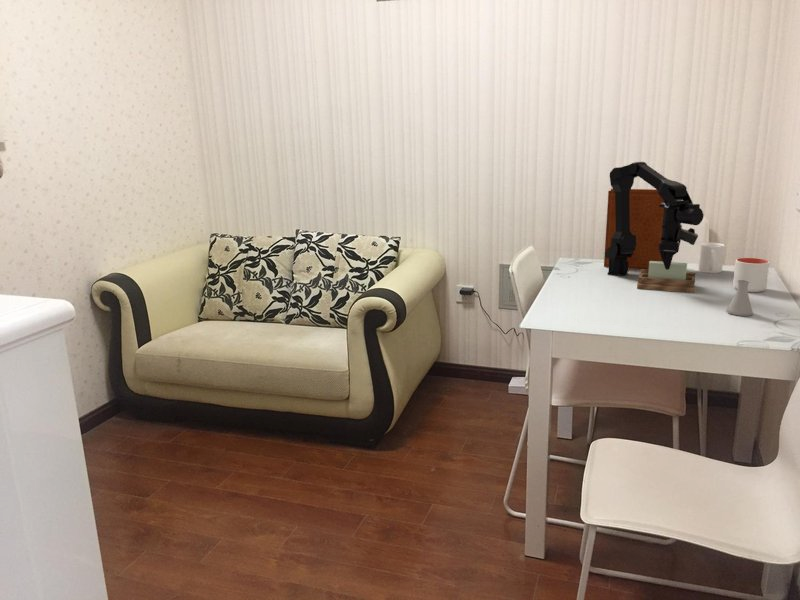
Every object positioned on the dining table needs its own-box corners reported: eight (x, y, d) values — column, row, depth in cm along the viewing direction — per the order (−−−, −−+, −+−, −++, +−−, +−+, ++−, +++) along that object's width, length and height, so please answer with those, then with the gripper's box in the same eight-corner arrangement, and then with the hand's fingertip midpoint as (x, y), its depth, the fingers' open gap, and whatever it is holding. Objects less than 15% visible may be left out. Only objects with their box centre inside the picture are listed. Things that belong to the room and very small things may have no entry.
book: (603, 266, 264) (608, 190, 257) (606, 262, 272) (610, 188, 264) (665, 270, 256) (672, 192, 248) (666, 266, 263) (673, 189, 255)
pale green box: (647, 282, 232) (649, 262, 230) (648, 280, 235) (650, 260, 233) (684, 285, 227) (686, 265, 225) (685, 282, 231) (687, 263, 229)
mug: (723, 276, 245) (726, 248, 242) (698, 274, 248) (701, 247, 245) (721, 269, 256) (724, 243, 253) (697, 268, 259) (700, 242, 256)
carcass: (637, 288, 230) (638, 275, 229) (640, 281, 240) (640, 269, 239) (693, 292, 223) (695, 279, 222) (694, 285, 233) (695, 272, 232)
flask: (753, 311, 201) (757, 279, 198) (752, 318, 195) (756, 284, 192) (727, 308, 204) (731, 277, 202) (724, 314, 198) (728, 282, 196)
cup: (768, 294, 220) (771, 264, 217) (734, 292, 223) (738, 263, 220) (762, 287, 229) (766, 258, 226) (730, 285, 232) (734, 257, 230)
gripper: (697, 226, 214) (692, 274, 218) (698, 218, 230) (694, 263, 235) (660, 225, 218) (656, 271, 223) (663, 217, 235) (660, 261, 239)
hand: (668, 266), depth 230 cm, fingers open, 9 cm apart
